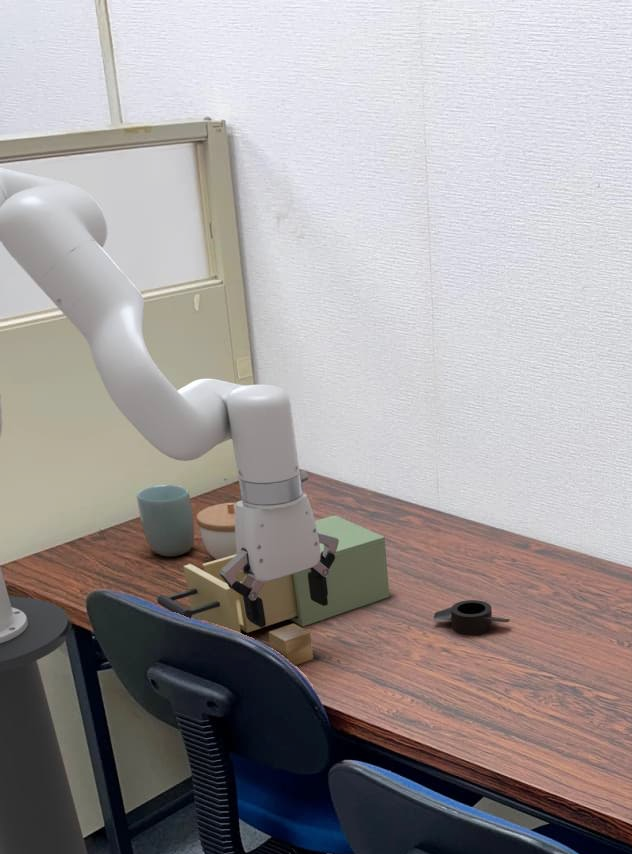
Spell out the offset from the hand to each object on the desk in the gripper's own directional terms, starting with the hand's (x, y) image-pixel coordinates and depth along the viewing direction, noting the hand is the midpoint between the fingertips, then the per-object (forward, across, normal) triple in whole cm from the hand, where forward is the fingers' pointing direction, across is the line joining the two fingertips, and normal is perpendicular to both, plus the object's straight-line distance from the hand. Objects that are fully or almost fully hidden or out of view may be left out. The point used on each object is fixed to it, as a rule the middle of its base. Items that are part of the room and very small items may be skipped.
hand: (289, 613), depth 159 cm
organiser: (+7, -14, -14) cm, 21 cm away
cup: (+7, -7, -46) cm, 47 cm away
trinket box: (+7, -13, -36) cm, 39 cm away
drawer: (+6, 0, -14) cm, 15 cm away
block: (+7, 0, 0) cm, 7 cm away
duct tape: (+7, -24, +9) cm, 27 cm away
